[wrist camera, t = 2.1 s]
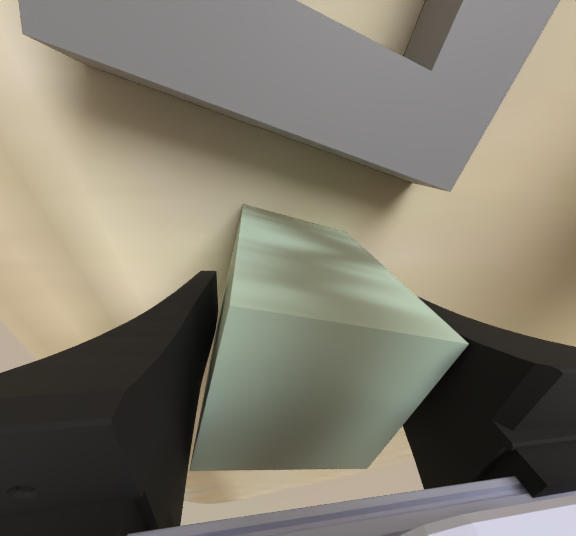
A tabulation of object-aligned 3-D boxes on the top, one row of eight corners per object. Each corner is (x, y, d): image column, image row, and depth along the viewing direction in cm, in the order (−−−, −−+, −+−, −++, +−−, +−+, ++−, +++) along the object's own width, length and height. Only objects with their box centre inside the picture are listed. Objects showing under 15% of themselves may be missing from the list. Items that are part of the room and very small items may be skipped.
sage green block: (346, 232, 13) (469, 343, 5) (311, 314, 15) (367, 468, 8) (243, 204, 11) (229, 305, 4) (222, 299, 13) (189, 470, 6)
